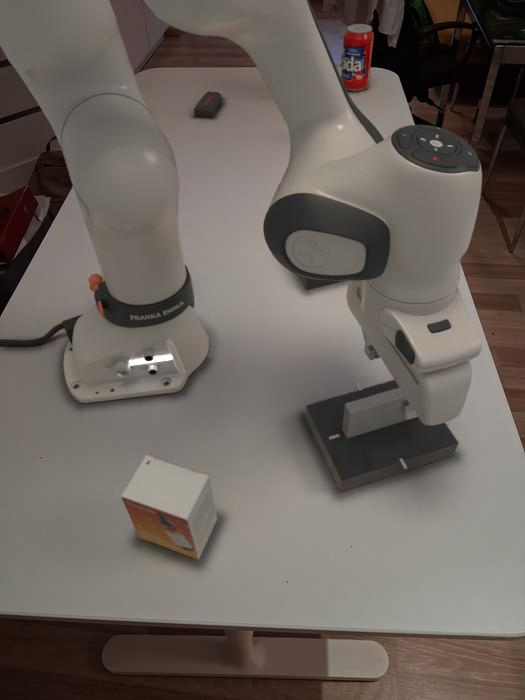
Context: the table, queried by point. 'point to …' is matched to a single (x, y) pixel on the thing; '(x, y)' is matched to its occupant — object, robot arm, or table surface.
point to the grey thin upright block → (373, 413)
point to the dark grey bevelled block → (208, 104)
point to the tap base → (374, 442)
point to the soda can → (357, 57)
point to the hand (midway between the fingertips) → (390, 382)
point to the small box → (171, 506)
